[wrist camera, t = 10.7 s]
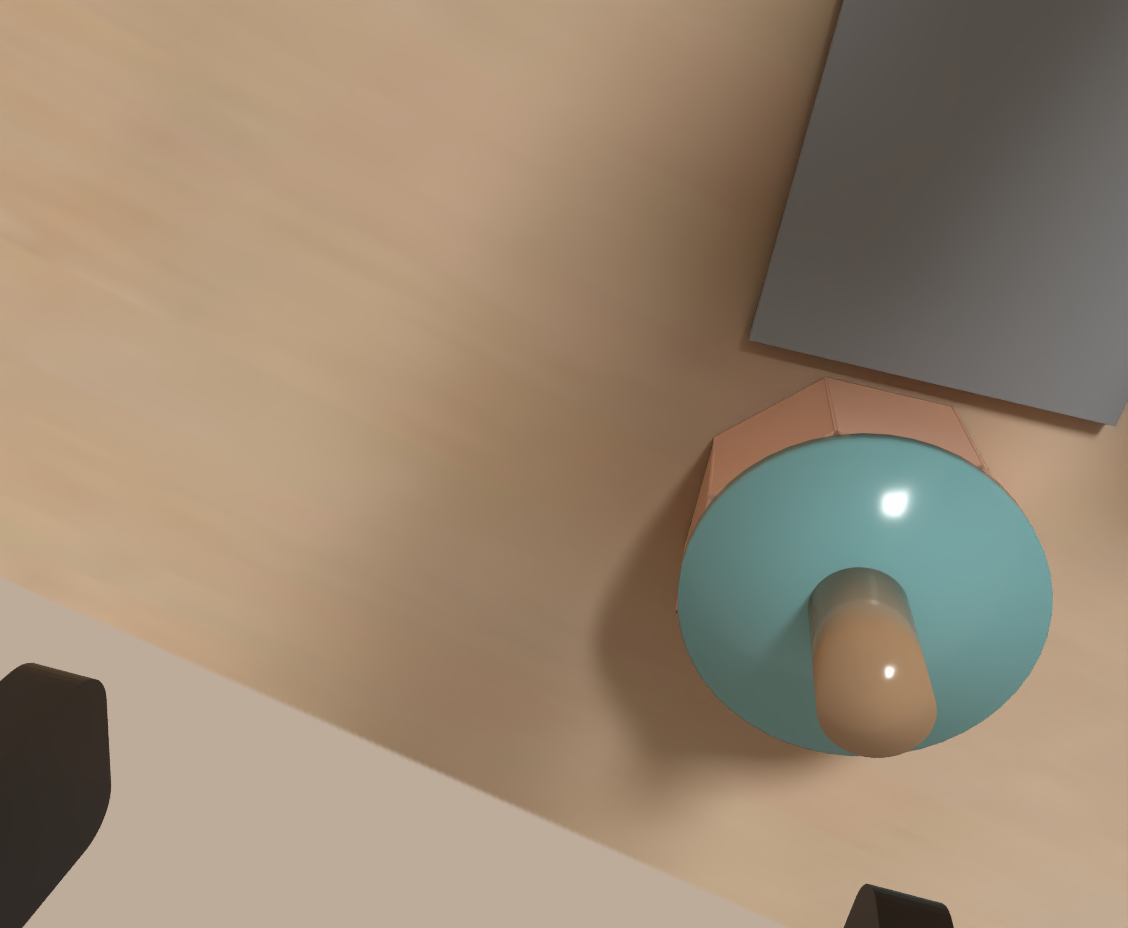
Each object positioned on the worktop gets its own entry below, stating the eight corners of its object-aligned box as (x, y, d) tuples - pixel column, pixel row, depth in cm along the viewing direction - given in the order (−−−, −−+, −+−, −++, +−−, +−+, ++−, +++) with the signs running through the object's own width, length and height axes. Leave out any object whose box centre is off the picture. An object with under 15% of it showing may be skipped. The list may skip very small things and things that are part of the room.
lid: (726, 395, 29) (719, 473, 24) (1105, 483, 28) (1185, 585, 23) (646, 691, 34) (626, 812, 28) (970, 776, 33) (1011, 917, 28)
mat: (859, -60, 28) (861, -62, 28) (1290, 25, 27) (1301, 25, 27) (749, 335, 33) (749, 340, 33) (1109, 419, 32) (1115, 426, 32)
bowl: (736, 354, 34) (733, 404, 29) (1045, 428, 33) (1092, 490, 28) (666, 609, 38) (654, 686, 34) (937, 679, 37) (963, 768, 33)
